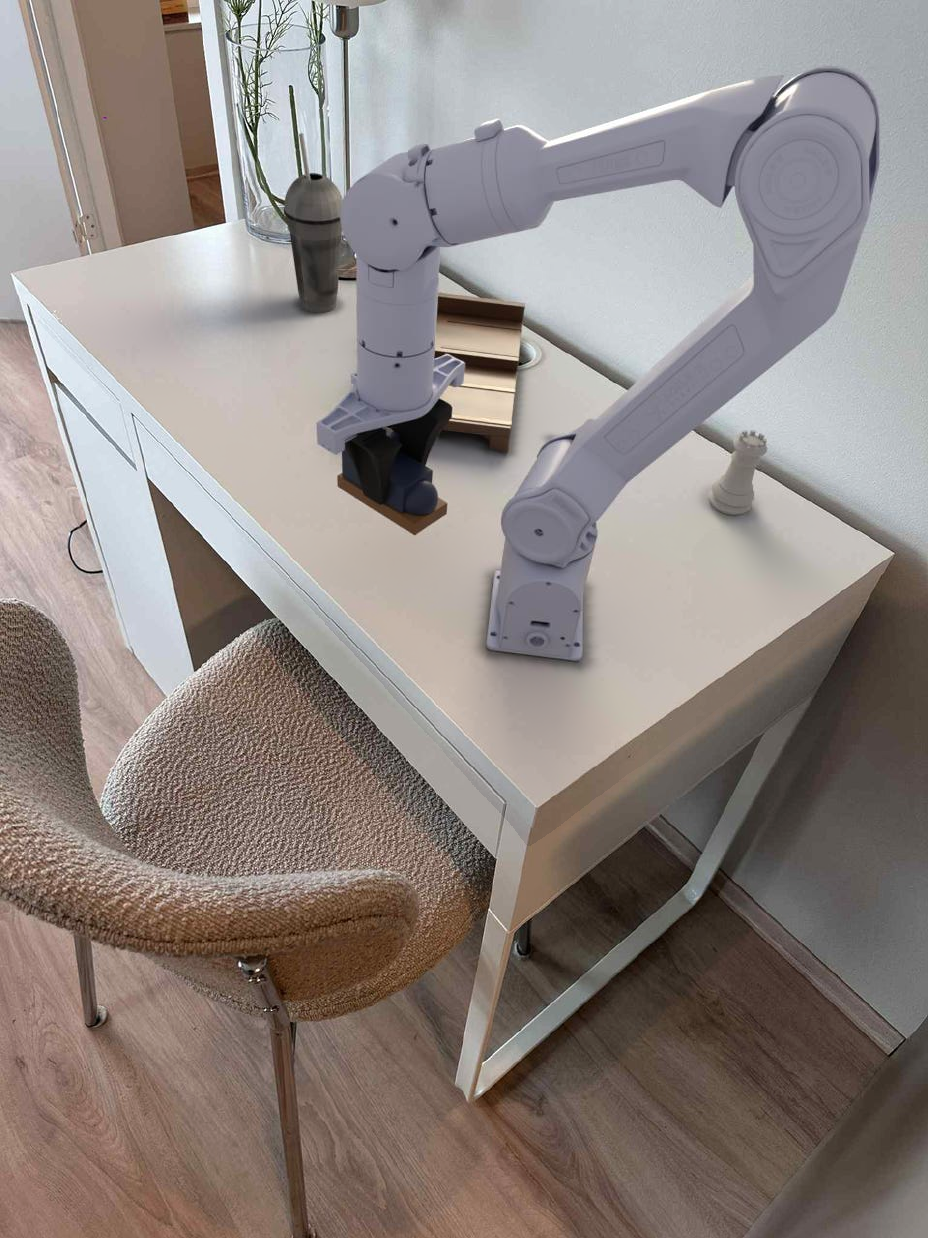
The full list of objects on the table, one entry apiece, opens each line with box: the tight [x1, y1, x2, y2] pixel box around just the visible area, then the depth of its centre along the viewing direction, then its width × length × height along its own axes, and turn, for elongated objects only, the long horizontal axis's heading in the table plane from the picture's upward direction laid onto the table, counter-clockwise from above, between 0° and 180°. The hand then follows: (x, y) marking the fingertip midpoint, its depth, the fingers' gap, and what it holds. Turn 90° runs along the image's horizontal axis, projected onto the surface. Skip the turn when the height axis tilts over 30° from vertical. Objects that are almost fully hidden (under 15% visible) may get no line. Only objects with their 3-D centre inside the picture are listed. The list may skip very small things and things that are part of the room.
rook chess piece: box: [708, 429, 768, 516], centre depth 88 cm, size 4×4×8 cm
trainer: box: [336, 426, 448, 536], centre depth 73 cm, size 9×4×5 cm, turn 50°
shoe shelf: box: [434, 292, 526, 453], centre depth 100 cm, size 24×16×5 cm, turn 174°
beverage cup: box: [283, 132, 343, 314], centre depth 105 cm, size 7×7×20 cm
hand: (392, 486), depth 74 cm, fingers closed on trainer, 3 cm apart
